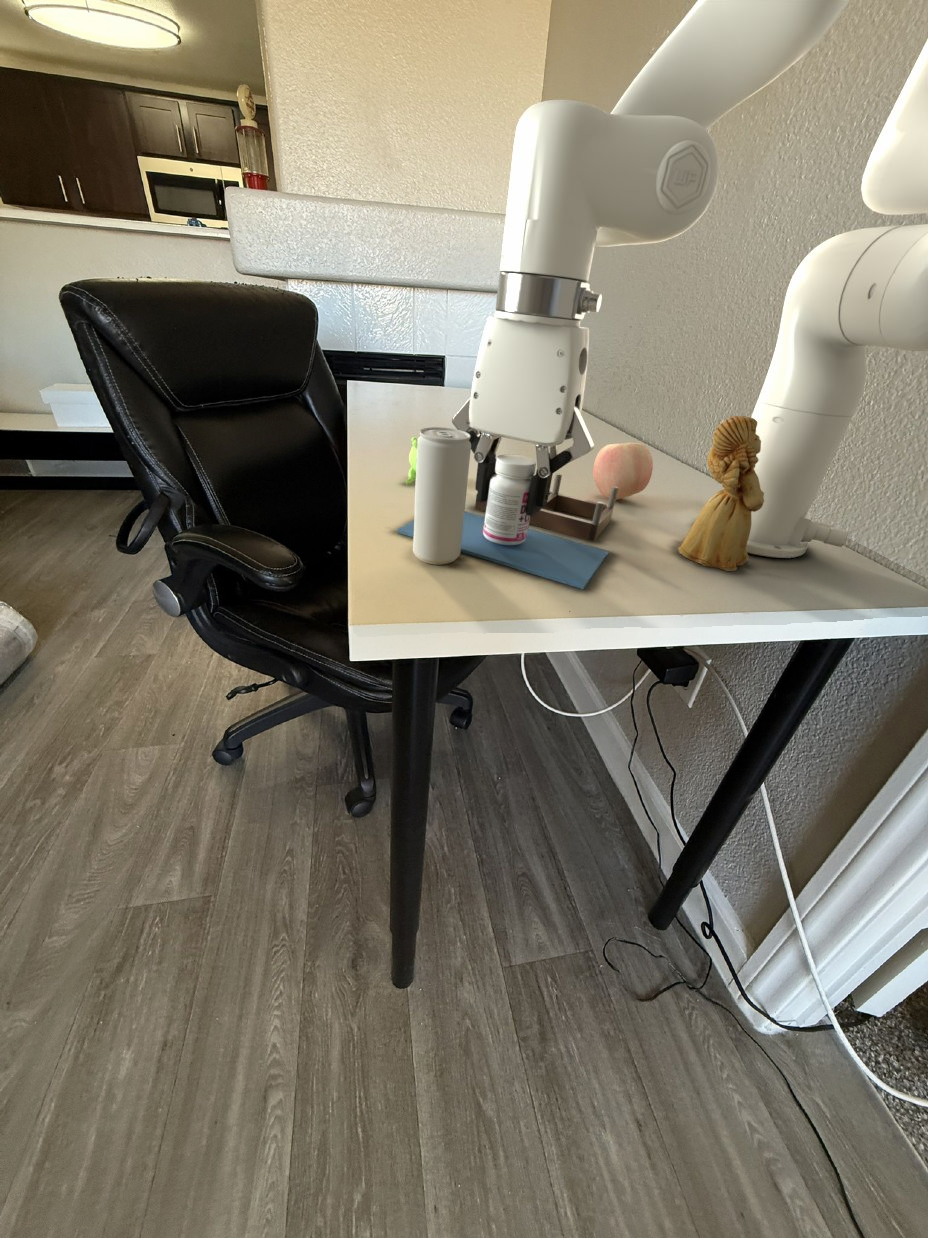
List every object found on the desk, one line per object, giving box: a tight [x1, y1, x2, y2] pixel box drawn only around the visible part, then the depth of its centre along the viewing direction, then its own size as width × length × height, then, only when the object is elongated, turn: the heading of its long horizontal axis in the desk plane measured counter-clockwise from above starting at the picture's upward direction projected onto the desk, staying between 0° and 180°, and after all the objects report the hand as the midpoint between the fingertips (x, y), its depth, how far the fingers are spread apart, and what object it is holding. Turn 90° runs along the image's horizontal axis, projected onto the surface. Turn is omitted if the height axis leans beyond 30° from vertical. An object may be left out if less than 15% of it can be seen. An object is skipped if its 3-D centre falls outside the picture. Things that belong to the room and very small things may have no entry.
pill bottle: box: [483, 454, 537, 545], centre depth 54 cm, size 5×5×8 cm
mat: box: [397, 510, 610, 590], centre depth 57 cm, size 21×10×1 cm, turn 63°
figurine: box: [677, 415, 764, 572], centre depth 55 cm, size 8×8×15 cm
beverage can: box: [412, 426, 472, 566], centre depth 49 cm, size 5×5×12 cm
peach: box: [592, 442, 654, 501], centre depth 72 cm, size 8×8×8 cm
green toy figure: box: [405, 436, 418, 486], centre depth 72 cm, size 6×5×6 cm
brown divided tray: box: [474, 472, 619, 542], centre depth 64 cm, size 15×8×4 cm, turn 63°
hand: (509, 503), depth 54 cm, fingers closed on pill bottle, 4 cm apart
